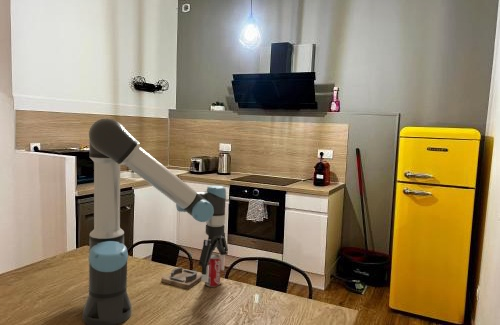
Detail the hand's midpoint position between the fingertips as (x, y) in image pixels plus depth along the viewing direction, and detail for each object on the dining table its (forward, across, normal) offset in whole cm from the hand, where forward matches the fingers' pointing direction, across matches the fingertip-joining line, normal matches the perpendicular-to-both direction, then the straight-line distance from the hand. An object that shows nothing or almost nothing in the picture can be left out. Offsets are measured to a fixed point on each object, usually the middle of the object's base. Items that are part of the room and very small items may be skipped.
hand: (213, 275), depth 150 cm
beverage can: (+4, 0, 0) cm, 4 cm away
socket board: (+4, +2, -13) cm, 13 cm away
